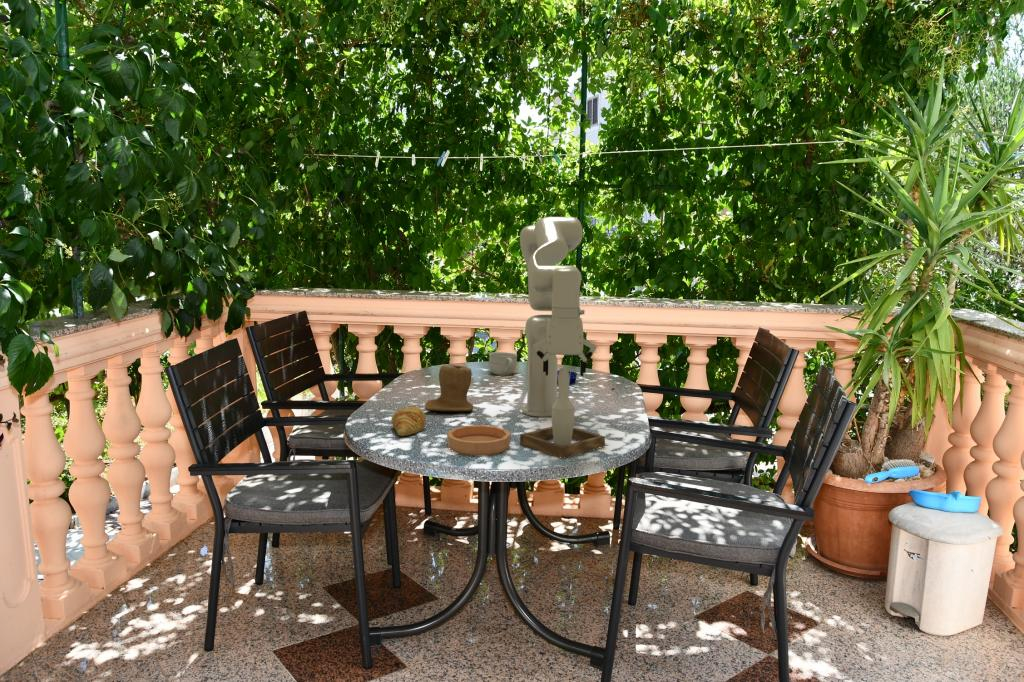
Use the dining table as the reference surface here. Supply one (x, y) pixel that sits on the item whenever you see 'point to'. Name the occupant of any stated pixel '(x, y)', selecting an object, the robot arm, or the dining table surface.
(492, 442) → the terracotta dish
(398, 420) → the croissant
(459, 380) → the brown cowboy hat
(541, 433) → the square wooden frame
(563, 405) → the faceted bottle
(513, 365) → the teacup
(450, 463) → the dining table surface
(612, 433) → the dining table surface
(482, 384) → the dining table surface
